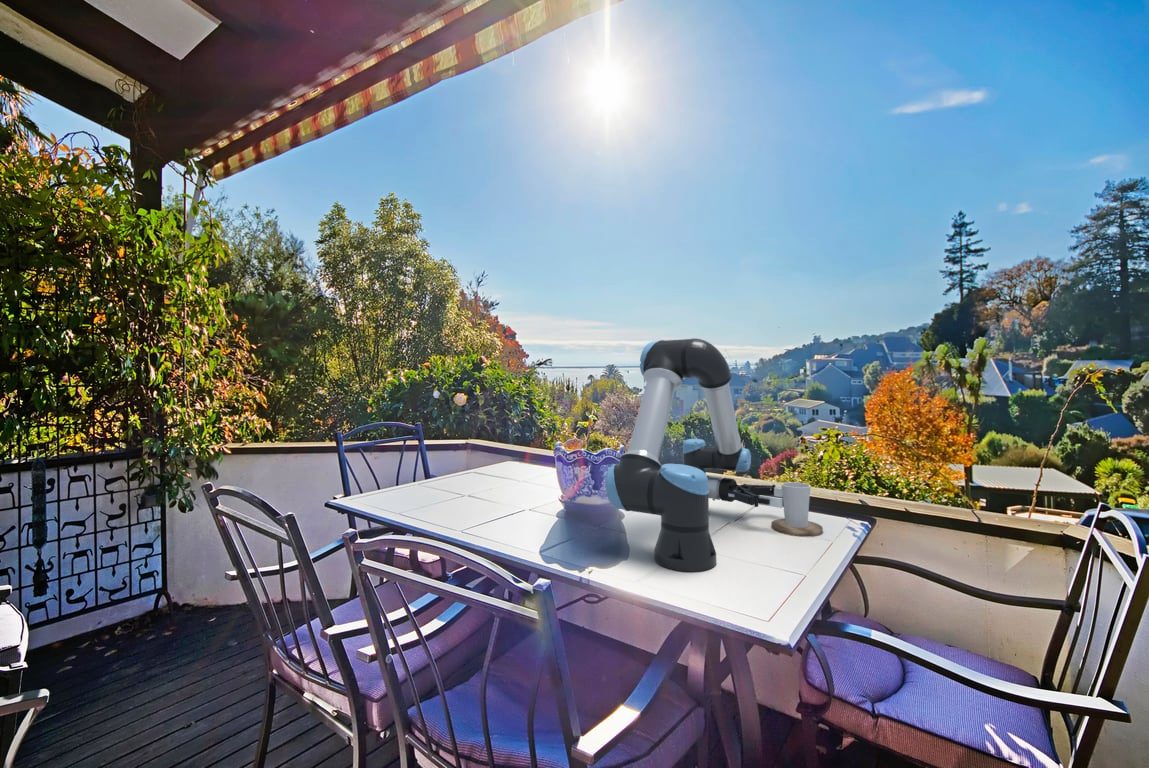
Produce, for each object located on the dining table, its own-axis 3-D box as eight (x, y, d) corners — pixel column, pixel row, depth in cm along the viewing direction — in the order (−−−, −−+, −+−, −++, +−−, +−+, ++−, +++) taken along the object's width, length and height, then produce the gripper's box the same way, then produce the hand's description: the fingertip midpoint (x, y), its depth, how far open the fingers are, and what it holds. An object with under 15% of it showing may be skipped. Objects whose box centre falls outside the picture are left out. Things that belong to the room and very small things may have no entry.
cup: (807, 530, 140) (807, 488, 140) (778, 525, 145) (778, 485, 145) (813, 523, 147) (813, 484, 147) (785, 519, 152) (785, 481, 152)
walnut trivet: (792, 538, 137) (792, 533, 137) (761, 524, 151) (761, 520, 151) (833, 534, 141) (833, 529, 141) (800, 520, 154) (800, 516, 154)
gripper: (736, 493, 171) (800, 503, 157) (705, 507, 152) (775, 520, 138) (736, 472, 171) (801, 479, 157) (705, 483, 152) (775, 494, 138)
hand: (789, 498), depth 147 cm, fingers open, 13 cm apart
